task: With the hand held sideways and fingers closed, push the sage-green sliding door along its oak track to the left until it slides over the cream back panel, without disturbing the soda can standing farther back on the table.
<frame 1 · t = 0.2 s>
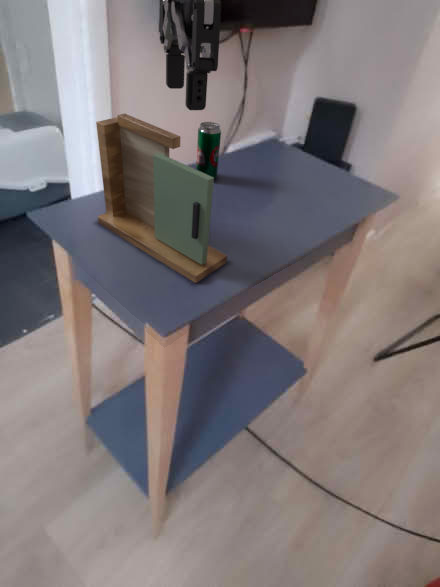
hand: (184, 98, 48), 27 cm above the table, tool pointing down, fingers open, 8 cm apart
door frame: (161, 242, 71), on the table
door: (179, 211, 61), point 9 cm above the table, slide at 0.0 cm
soda can: (206, 178, 93), on the table
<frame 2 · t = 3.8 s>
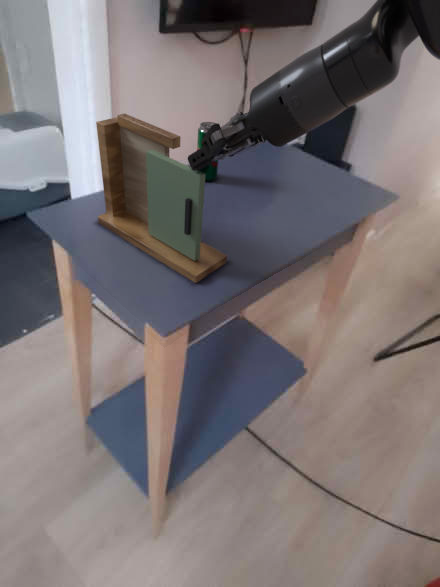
hand: (192, 164, 56), 17 cm above the table, tool tilted 50°, fingers closed
door: (172, 207, 62), point 9 cm above the table, slide at 1.6 cm
everything else where it was.
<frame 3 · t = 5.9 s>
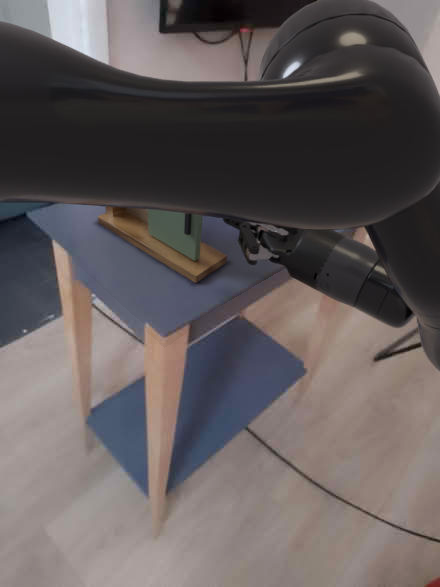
hand: (226, 212, 56), 13 cm above the table, tool horizontal, fingers closed
nothing on the table moved.
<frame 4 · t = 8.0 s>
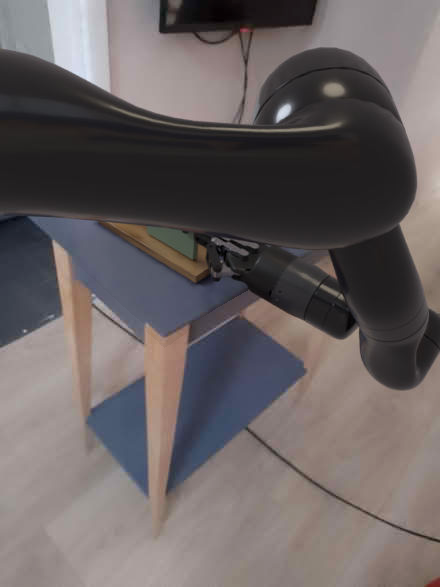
hand: (196, 232, 62), 7 cm above the table, tool horizontal, fingers closed
door: (170, 206, 62), point 9 cm above the table, slide at 2.0 cm, touching gripper
everything else where it was.
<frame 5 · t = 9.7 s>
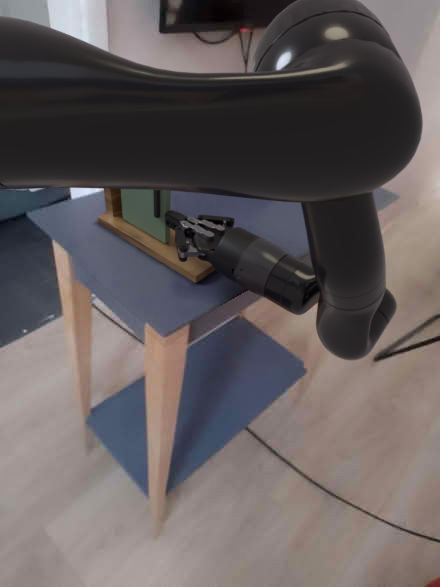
hand: (167, 216, 64), 7 cm above the table, tool horizontal, fingers closed
door: (142, 192, 65), point 9 cm above the table, slide at 8.4 cm, touching gripper
everything else where it was.
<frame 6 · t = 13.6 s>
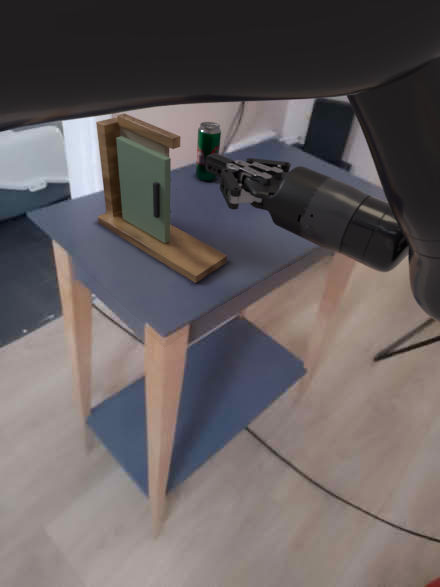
hand: (208, 161, 53), 19 cm above the table, tool horizontal, fingers closed
door: (142, 192, 65), point 9 cm above the table, slide at 8.5 cm
everything else where it was.
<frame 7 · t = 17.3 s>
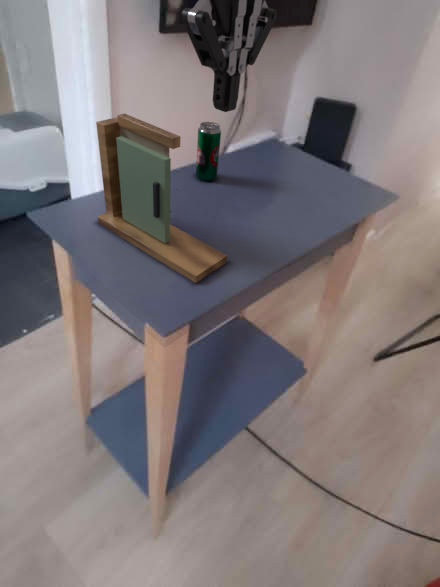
hand: (224, 109, 45), 27 cm above the table, tool pointing down, fingers closed
nothing on the table moved.
at the end: door slide at 8.5 cm; soda can moved 0.2 cm from its start; soda can tilted 0° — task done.
